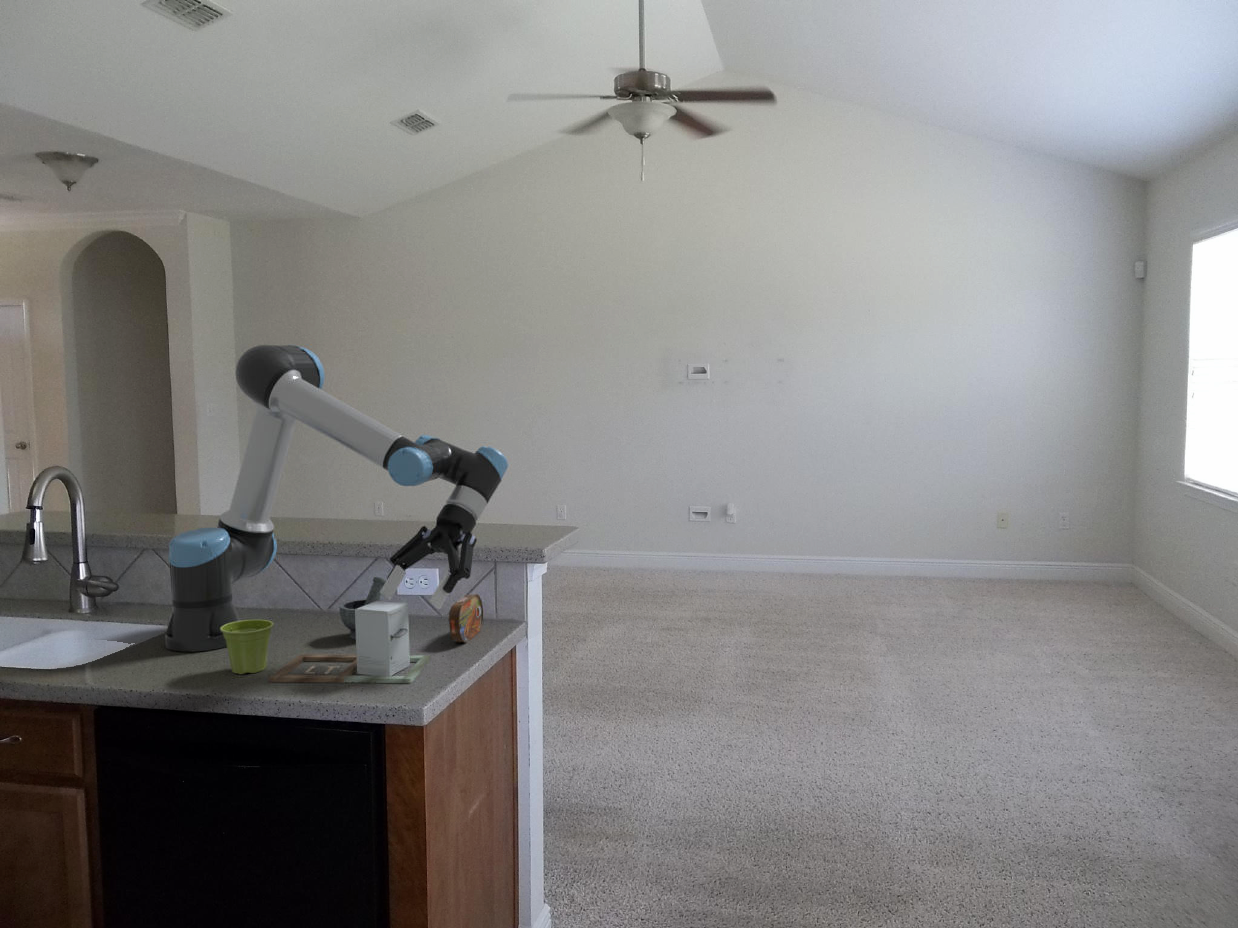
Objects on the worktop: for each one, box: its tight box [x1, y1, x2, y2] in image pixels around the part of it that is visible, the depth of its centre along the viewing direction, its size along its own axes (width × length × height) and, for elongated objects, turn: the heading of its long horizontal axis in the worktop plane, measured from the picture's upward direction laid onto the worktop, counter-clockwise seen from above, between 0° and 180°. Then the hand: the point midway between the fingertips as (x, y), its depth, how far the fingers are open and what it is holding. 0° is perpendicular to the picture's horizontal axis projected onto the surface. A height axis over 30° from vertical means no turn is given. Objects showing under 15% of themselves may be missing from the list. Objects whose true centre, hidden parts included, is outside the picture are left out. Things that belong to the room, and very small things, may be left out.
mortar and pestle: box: [339, 576, 387, 640], centre depth 205 cm, size 11×9×12 cm
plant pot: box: [220, 619, 274, 675], centre depth 182 cm, size 9×9×9 cm
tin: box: [448, 593, 484, 644], centre depth 203 cm, size 15×3×8 cm, turn 170°
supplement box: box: [355, 600, 411, 676], centre depth 181 cm, size 7×7×13 cm
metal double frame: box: [268, 654, 432, 684], centre depth 181 cm, size 26×14×1 cm, turn 86°
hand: (409, 600), depth 184 cm, fingers open, 13 cm apart
